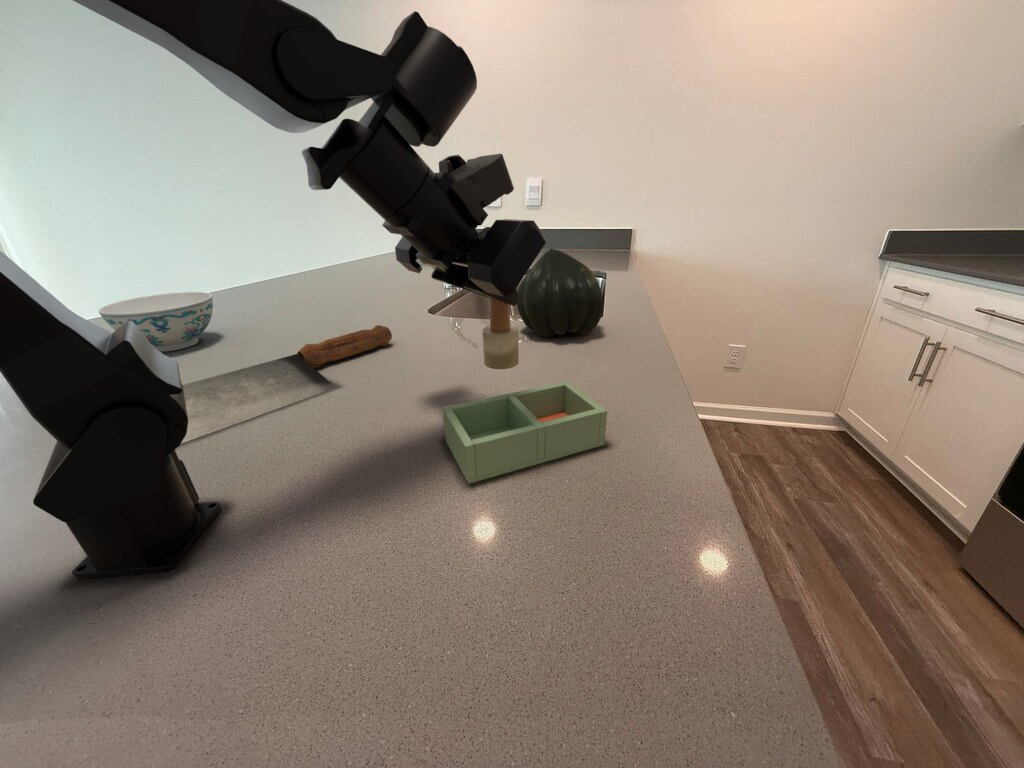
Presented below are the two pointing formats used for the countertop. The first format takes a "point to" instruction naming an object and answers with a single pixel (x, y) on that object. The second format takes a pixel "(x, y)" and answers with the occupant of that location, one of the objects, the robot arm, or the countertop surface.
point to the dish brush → (500, 338)
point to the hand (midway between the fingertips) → (509, 300)
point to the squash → (560, 296)
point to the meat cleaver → (270, 383)
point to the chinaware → (164, 317)
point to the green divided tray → (522, 429)
